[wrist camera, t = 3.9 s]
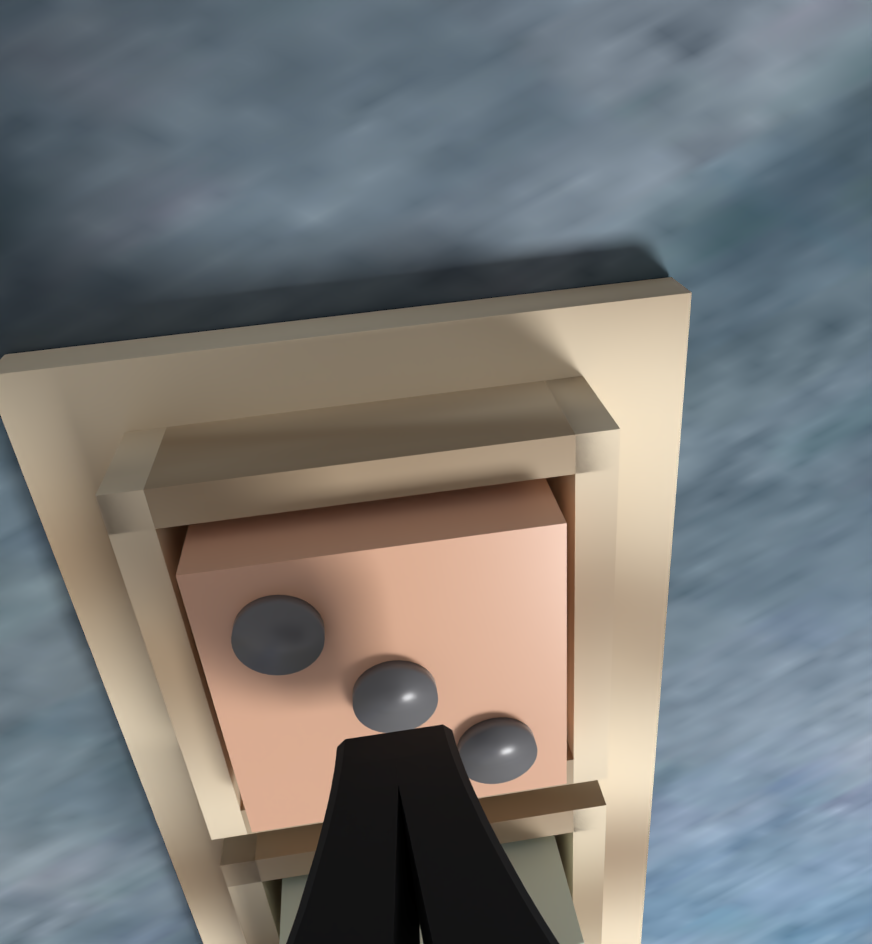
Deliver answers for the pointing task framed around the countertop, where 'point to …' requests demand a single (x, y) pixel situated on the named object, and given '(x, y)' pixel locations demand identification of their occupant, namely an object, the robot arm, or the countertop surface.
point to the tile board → (358, 480)
